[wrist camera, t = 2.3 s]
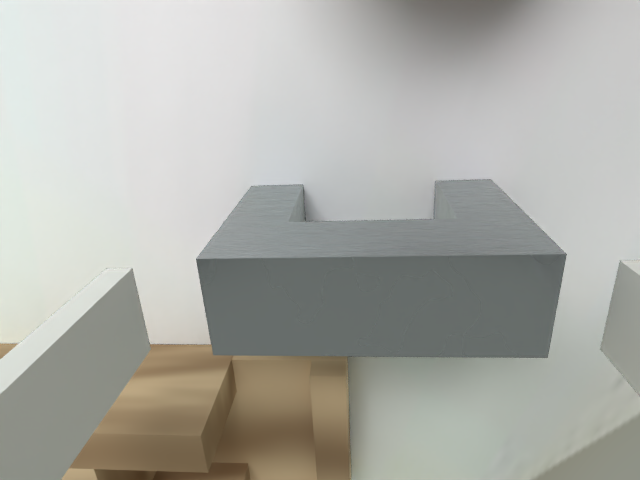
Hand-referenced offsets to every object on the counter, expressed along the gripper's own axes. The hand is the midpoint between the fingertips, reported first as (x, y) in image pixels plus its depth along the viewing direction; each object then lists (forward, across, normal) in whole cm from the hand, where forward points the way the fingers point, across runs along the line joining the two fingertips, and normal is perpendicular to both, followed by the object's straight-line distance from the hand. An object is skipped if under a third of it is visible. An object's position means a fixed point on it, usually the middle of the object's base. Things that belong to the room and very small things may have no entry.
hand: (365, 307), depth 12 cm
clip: (+6, 0, 0) cm, 6 cm away
